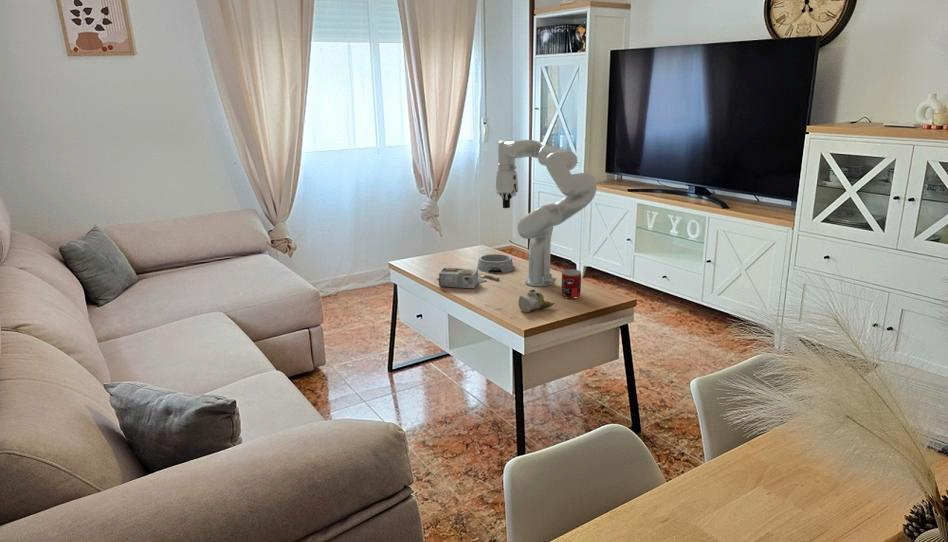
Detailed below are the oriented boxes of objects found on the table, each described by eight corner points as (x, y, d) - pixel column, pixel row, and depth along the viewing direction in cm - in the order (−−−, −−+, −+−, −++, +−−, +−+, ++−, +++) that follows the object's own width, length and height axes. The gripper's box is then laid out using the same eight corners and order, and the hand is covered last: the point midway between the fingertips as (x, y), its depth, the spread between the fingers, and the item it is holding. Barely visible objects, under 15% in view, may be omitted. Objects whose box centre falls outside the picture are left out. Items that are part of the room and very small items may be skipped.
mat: (486, 280, 285) (486, 280, 285) (465, 287, 276) (465, 287, 276) (458, 273, 298) (458, 272, 298) (436, 279, 289) (436, 278, 289)
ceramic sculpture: (511, 288, 246) (538, 283, 255) (510, 309, 248) (536, 303, 257) (530, 295, 238) (557, 289, 247) (528, 317, 240) (555, 310, 249)
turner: (501, 279, 287) (501, 276, 287) (494, 281, 284) (494, 279, 284) (478, 273, 297) (478, 271, 297) (471, 275, 294) (471, 273, 294)
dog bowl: (477, 263, 315) (477, 253, 314) (513, 263, 315) (513, 253, 313) (476, 273, 299) (476, 262, 298) (514, 273, 298) (514, 262, 297)
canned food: (558, 295, 265) (558, 270, 262) (574, 292, 268) (575, 268, 265) (567, 300, 258) (568, 275, 255) (583, 298, 261) (584, 273, 258)
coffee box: (478, 282, 282) (444, 280, 286) (478, 269, 280) (444, 267, 284) (473, 289, 273) (438, 286, 277) (473, 275, 272) (438, 273, 275)
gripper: (524, 168, 279) (524, 208, 284) (499, 165, 289) (499, 204, 294) (513, 170, 273) (513, 211, 279) (488, 167, 284) (489, 207, 289)
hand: (506, 207), depth 286 cm, fingers closed
